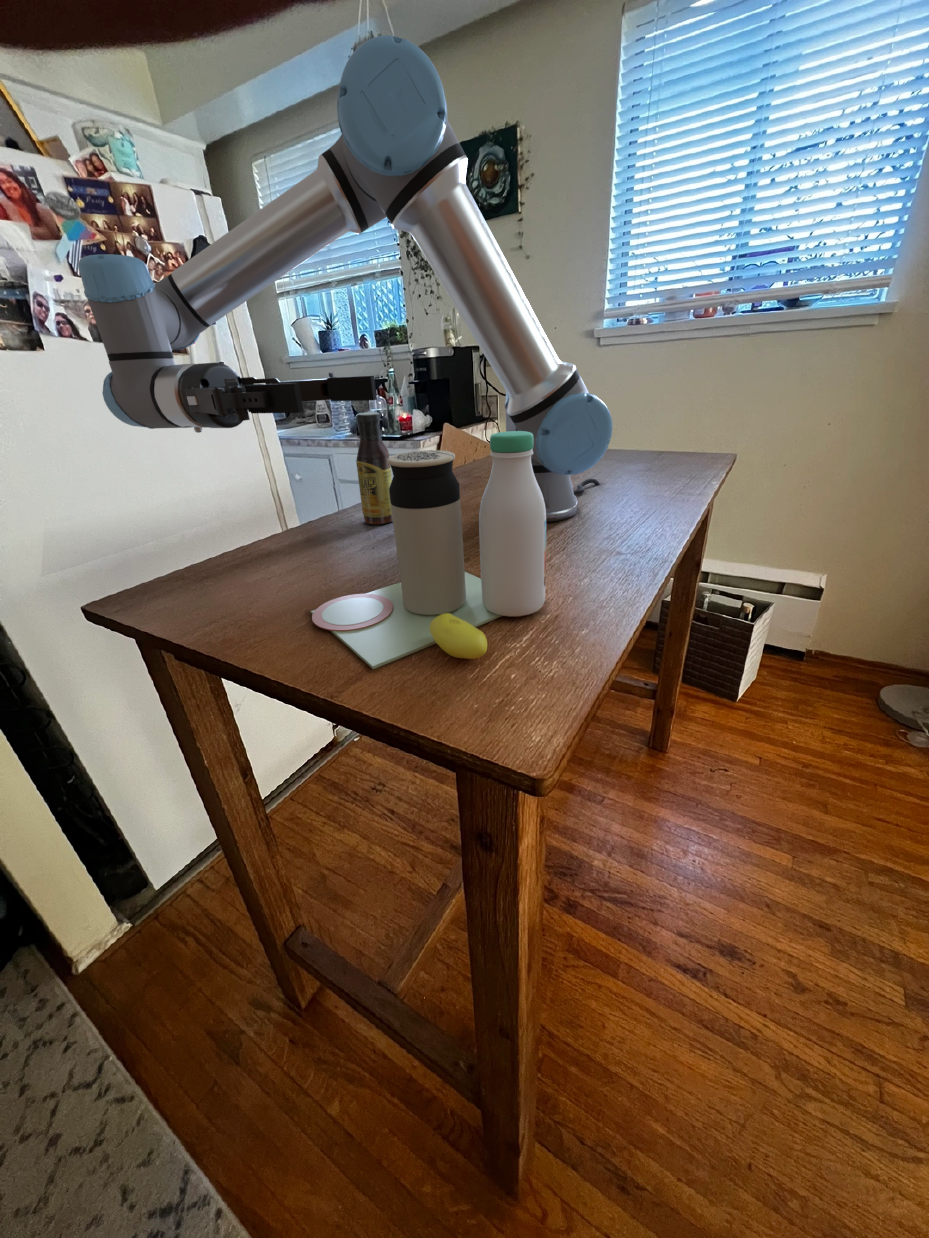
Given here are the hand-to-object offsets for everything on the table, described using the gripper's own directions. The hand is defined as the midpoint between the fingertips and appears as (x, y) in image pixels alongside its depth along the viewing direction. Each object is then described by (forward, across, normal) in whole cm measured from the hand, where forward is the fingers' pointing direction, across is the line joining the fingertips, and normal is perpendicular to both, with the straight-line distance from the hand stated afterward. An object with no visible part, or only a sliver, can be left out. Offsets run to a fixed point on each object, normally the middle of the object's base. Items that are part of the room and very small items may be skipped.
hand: (340, 392), depth 56 cm
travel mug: (+10, 0, -25) cm, 27 cm away
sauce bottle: (-18, -30, -25) cm, 43 cm away
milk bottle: (+19, -3, -25) cm, 31 cm away
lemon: (+17, +10, -25) cm, 32 cm away
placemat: (+8, +2, -25) cm, 26 cm away
